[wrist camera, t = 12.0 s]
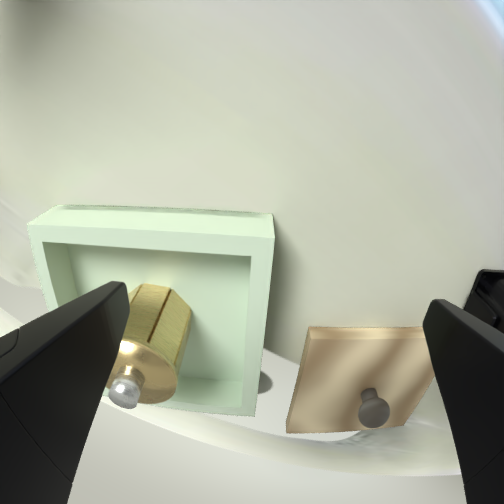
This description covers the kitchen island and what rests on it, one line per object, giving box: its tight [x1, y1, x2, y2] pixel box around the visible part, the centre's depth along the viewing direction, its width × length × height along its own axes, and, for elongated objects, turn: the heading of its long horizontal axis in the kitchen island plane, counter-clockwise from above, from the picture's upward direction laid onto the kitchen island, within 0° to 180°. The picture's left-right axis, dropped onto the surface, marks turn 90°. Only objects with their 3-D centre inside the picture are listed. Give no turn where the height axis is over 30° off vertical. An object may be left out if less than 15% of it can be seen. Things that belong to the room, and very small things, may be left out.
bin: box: [27, 205, 275, 416], centre depth 23 cm, size 16×16×4 cm
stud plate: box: [286, 327, 435, 433], centre depth 26 cm, size 14×14×6 cm
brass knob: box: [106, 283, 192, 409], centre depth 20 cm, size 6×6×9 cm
